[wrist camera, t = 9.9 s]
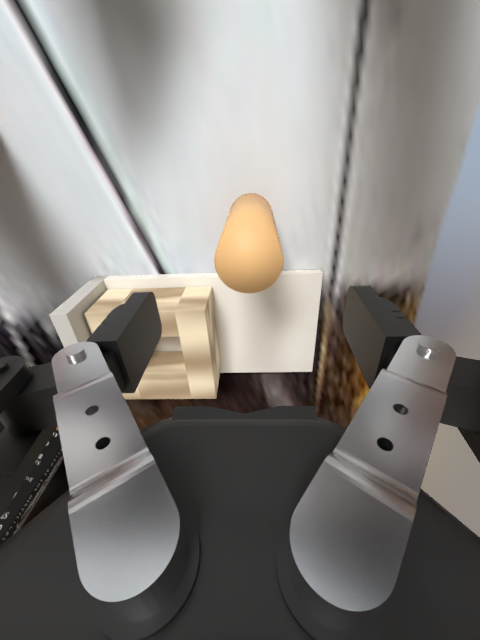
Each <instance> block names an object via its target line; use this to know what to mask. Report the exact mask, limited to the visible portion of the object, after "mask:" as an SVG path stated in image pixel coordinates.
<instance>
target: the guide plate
mask: <svg viewBox="0 0 480 640" xmlns="http://www.w3.org/2000/svg"><path fill="white" fill-rule="evenodd" d="M322 277H323V272H322V271H321V269H318V270H287V271H281V273H280V275H279V277H278V279H277V280H276V281H275V282H274V283H273V284H272V285H271V286H270V287H269V288H267V289H265V290H263V291H261V292H257V293H250V294H249V293H240V292H237V291H234V290H232V289H231V288H229V287H228V286H226V285H225V284H224V283H223V282H222V281H221V279H220V278H219V276H218V274H217V273H192V274H160V275H129V276H97V277H93V278H92V279H91V280H89V281H88V282H87V283H86V284H85V285H83V286H82V287H81V288H80V289H79V290H78V291H76V292H75V293H74V294H73V295H72V296H71V297H69V298H68V299H67V300H66V301H65V302H64V303H62V304H61V305H60V306H59V307H58V308H56V309H55V310H54V311H53V312H52V313H51V314H49V316H50V318H51V320H52V323H53V325H54V327H55V329H56V331H57V333H58V335H59V338H60V340H61V342H62V344H63V346H64V348H65V347H67V346H69V345H72V344H75V343H79V342H86V341H87V339H88V338H89V337H90V336H91V335H92V332H91V330H90V327H89V325H88V322H87V320H86V317H85V314H84V313H85V312H86V311H87V310H88V309H89V308H90V307H91V306H92V305H93V304H94V303H95V302H96V301H97V300H98V299H99V298H100V297H101V296H102V295H103V294H104V293H105V292H106V291H107V290H108V289H142V288H176V287H211V286H212V294H213V303H214V312H215V321H216V330H217V339H218V347H219V356H220V365H221V370H220V373H246V372H312V368H313V359H314V350H315V341H316V332H317V323H318V313H319V304H320V295H321V286H322ZM155 351H182V347H181V342H180V337H161V338H160V340H159V342H158V344H157V346H156V348H155Z"/></svg>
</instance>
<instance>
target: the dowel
mask: <svg viewBox="0 0 480 640" xmlns="http://www.w3.org/2000/svg"><path fill="white" fill-rule="evenodd" d="M214 263H215V269H216V272H217V274H218V276H219V278H220V279H221V281H222V282H223V283H224V284H225V285H226V286H228V287H229V288H231V289H232V290H234V291H237V292H240V293H249V294H250V293H257V292H261V291H263V290H265V289H267V288H269V287H270V286H271V285H272V284H273V283H274V282H275V281H276V280H277V279H278V277H279V275H280V273H281V271H282V267H283V255H282V250H281V246H280V242H279V238H278V234H277V230H276V226H275V222H274V218H273V214H272V210H271V207H270V205H269V203H268V202H267V200H266V199H265V198H263V197H262V196H260V195H257V194H252V193H250V194H245V195H242V196H240V197H239V198H238V199H236V200H235V202H234V203H233V205H232V207H231V209H230V212H229V215H228V218H227V221H226V224H225V226H224V229H223V232H222V235H221V238H220V241H219V244H218V246H217V249H216V253H215V259H214Z"/></svg>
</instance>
